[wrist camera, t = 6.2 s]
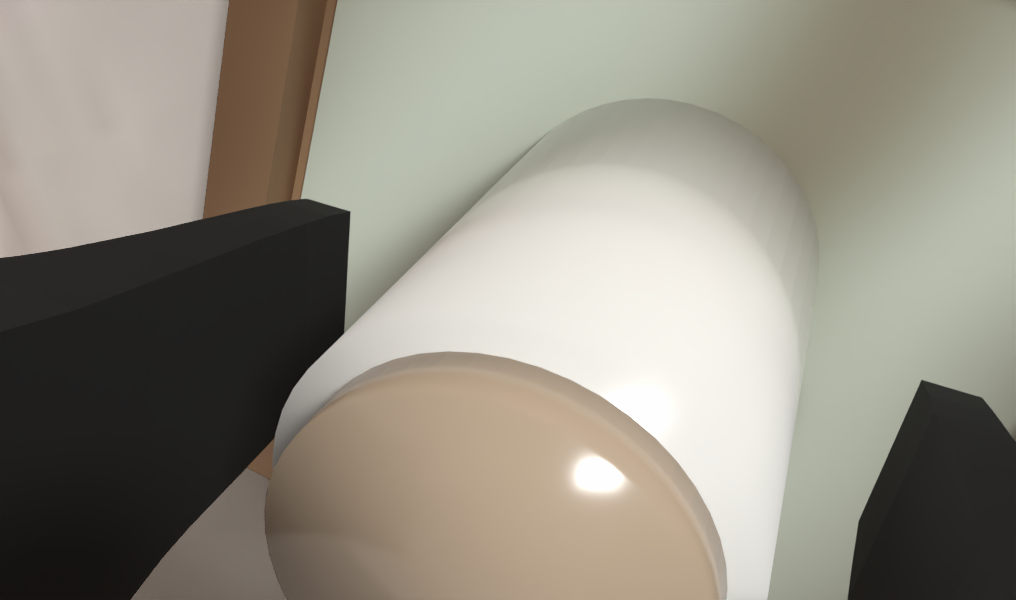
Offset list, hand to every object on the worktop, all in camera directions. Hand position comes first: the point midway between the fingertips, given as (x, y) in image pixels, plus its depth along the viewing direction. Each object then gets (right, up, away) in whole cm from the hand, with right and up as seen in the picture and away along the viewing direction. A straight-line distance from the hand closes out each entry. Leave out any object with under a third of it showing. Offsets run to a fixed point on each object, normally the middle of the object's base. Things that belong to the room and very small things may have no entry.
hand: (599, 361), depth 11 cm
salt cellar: (+1, +1, +2) cm, 3 cm away
